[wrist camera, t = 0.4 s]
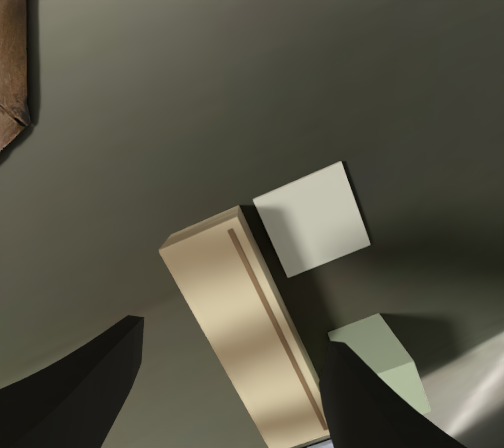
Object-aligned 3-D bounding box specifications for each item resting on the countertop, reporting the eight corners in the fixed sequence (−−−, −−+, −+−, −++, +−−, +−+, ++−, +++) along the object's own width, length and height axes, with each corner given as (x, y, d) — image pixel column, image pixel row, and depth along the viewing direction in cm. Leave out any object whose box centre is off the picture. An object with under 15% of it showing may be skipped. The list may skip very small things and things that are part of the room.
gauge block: (394, 355, 23) (431, 411, 19) (344, 372, 24) (368, 432, 19) (378, 312, 22) (413, 361, 18) (327, 332, 23) (347, 384, 18)
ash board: (327, 396, 24) (338, 431, 21) (269, 416, 25) (272, 454, 22) (238, 205, 20) (237, 216, 17) (170, 234, 21) (158, 250, 18)
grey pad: (369, 243, 21) (370, 244, 21) (287, 276, 22) (287, 277, 21) (339, 161, 19) (341, 161, 19) (252, 199, 20) (252, 200, 20)
